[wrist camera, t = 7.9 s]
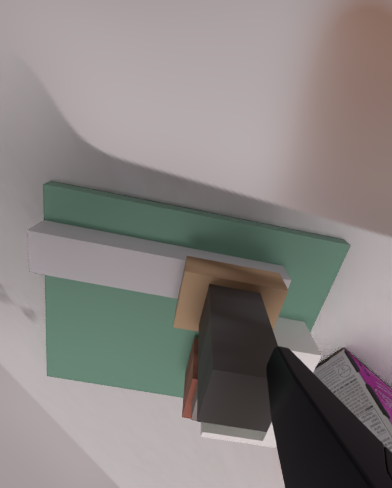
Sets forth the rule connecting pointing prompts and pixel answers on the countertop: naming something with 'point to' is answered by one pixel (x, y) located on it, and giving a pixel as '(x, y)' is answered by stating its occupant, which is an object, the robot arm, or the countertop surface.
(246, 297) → the multicolored block structure
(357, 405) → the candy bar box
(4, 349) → the countertop surface
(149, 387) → the board
